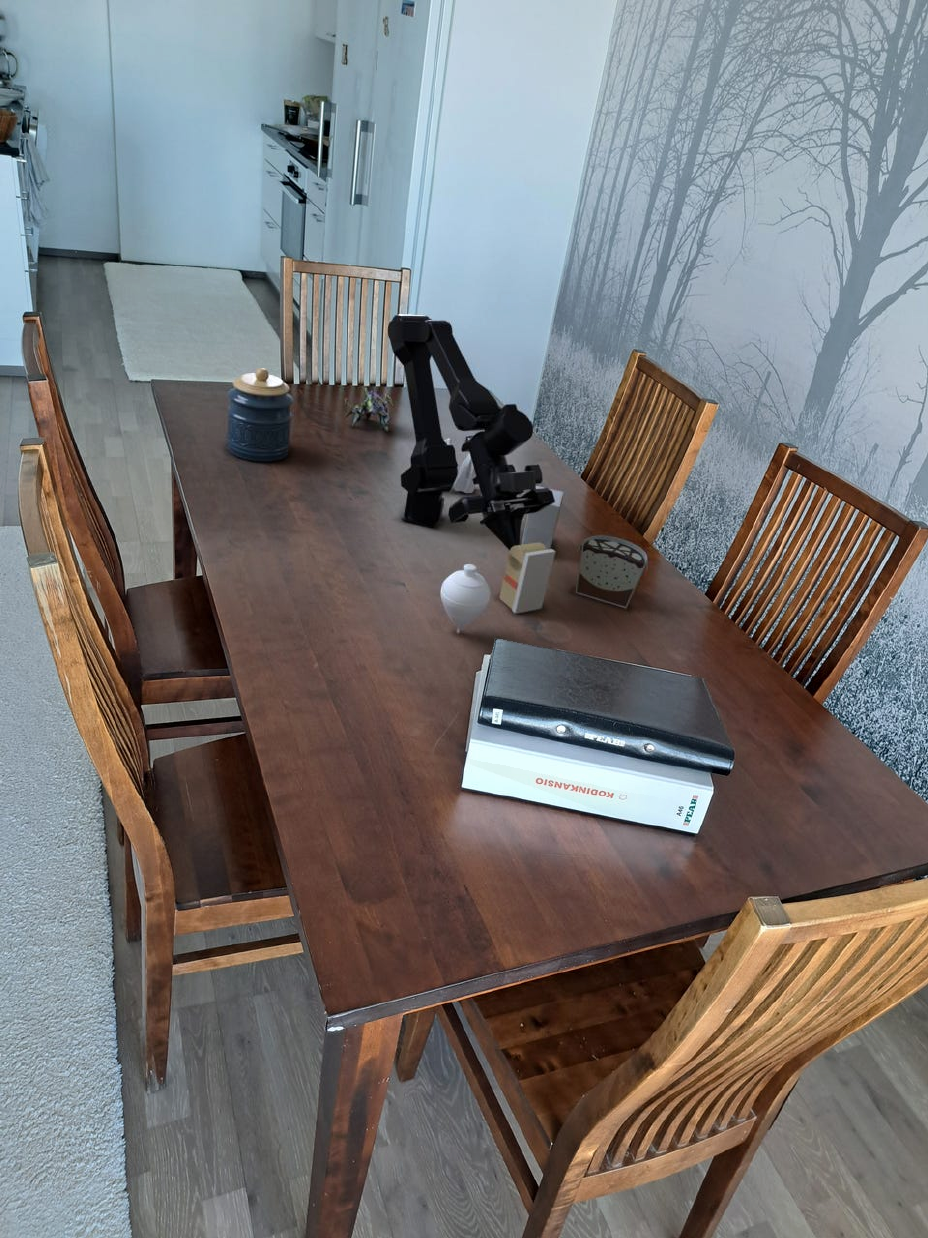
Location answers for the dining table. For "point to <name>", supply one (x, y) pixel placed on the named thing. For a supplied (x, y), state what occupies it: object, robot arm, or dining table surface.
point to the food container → (610, 569)
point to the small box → (543, 522)
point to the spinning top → (465, 596)
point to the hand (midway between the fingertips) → (515, 553)
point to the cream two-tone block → (526, 577)
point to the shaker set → (465, 474)
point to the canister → (259, 417)
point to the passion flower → (372, 408)
